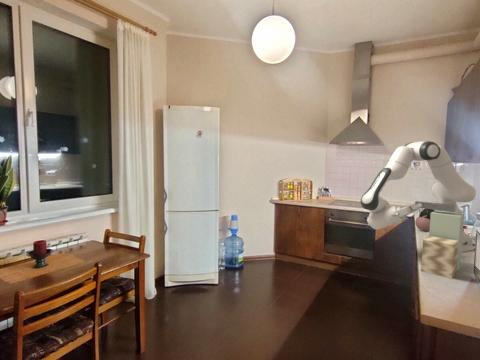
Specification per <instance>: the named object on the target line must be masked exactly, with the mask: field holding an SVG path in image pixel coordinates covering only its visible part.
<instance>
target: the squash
mask: <svg viewBox="0 0 480 360" xmlns="http://www.w3.org/2000/svg"><path fill="white" fill-rule="evenodd" d="M434 211H436V210H432V209H425V208H423V209H422V210H421V211H420V213H419V215H418V217H423V216H426V215H427V217H425V218H427V219H429V220H430V216H431V213H432V212H434Z"/></svg>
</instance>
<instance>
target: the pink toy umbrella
mask: <svg viewBox="0 0 480 360" xmlns="http://www.w3.org/2000/svg"><path fill="white" fill-rule="evenodd" d="M425 217H427V215H426V216H423V217H419V216H417V217H416V219H415V222H414V223H415V226H416V227H417V229H419V230H420V231H422V232H428V231H430V220H429V219H427V218H425Z"/></svg>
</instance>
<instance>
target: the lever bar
mask: <svg viewBox="0 0 480 360" xmlns="http://www.w3.org/2000/svg"><path fill="white" fill-rule="evenodd" d="M414 203H415V205H416V204H419V203H422V205H423V206H422V207H419V208H420V209H432V210H435V211H448V212H455V211H456V205H453V204H443V203H438V202H429V201H417V200H416V201H414Z"/></svg>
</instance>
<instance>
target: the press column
mask: <svg viewBox="0 0 480 360" xmlns="http://www.w3.org/2000/svg"><path fill="white" fill-rule="evenodd" d="M464 218H465V213H462V214H460V213H451V212H443V211H439V210H435V211H434V212H432V213H431V216H430V230H429V232H428V236H433V237H439V238H445V239H451V240H457V241H458V250H457V264H456V272H457V271H458V270H459V268H460V267H461V260H462V259H461V258H462V252H461V248H462V235H463V225H464Z"/></svg>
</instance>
